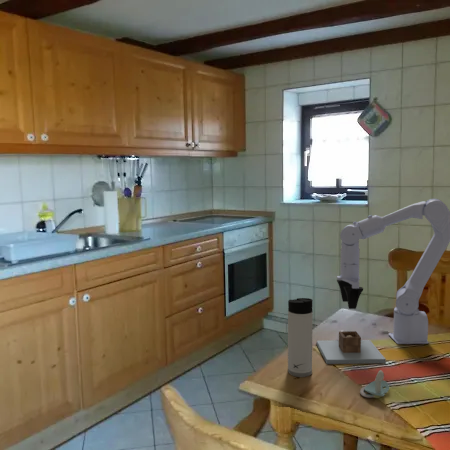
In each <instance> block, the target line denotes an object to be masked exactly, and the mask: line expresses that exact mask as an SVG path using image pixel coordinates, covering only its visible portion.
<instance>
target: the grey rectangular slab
mask: <svg viewBox="0 0 450 450" xmlns="http://www.w3.org/2000/svg"><path fill="white" fill-rule="evenodd" d="M347 337H352V336H351V335H348V336H347ZM316 346H317V348H318V350H319V351H320V354H321V355H322V358H323V359H324V361H325V363H326V365H337V364H338V365H341V364H342V365H343V364H344V365H348V364H349V365H350V364H357V365H358V364H386V363H387V362H386V361H387V360H386V357H385V356H384V355H383V354H382V353H381V352H380V350H379V349H378V348H377V347H376V346H375V344H374V343H373V342H372V340H371V339H361V353H343V352H342V351H341V349H340V347H339V339H338V340H337V339H334V340H329V339H328V340H316Z"/></svg>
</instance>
